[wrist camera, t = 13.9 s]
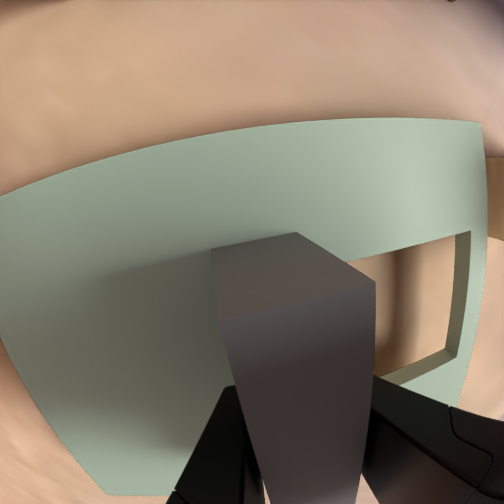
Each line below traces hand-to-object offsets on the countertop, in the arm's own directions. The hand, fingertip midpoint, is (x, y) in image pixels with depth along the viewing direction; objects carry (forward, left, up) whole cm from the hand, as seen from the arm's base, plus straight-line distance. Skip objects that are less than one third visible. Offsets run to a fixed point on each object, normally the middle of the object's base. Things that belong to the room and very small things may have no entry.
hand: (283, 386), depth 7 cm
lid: (0, 0, -2) cm, 2 cm away
